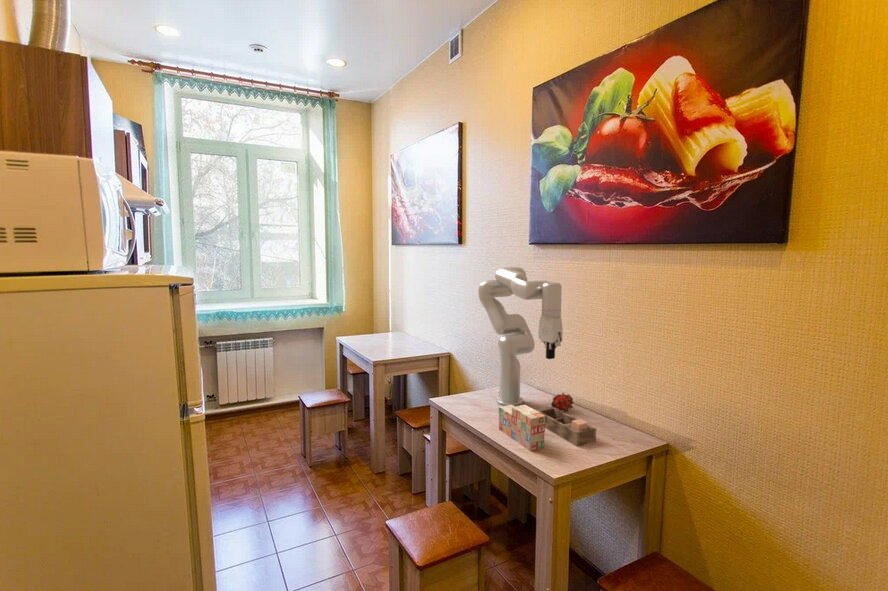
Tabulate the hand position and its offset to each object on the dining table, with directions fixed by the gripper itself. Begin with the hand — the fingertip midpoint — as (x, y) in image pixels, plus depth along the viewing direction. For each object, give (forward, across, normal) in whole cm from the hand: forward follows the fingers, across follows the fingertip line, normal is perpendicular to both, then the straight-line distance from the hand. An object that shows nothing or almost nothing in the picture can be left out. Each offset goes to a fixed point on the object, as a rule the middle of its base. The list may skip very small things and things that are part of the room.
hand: (550, 358), depth 176 cm
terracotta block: (+24, +18, 0) cm, 30 cm away
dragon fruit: (+27, -8, +14) cm, 32 cm away
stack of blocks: (+28, +7, -19) cm, 34 cm away
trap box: (+27, +10, 0) cm, 29 cm away
